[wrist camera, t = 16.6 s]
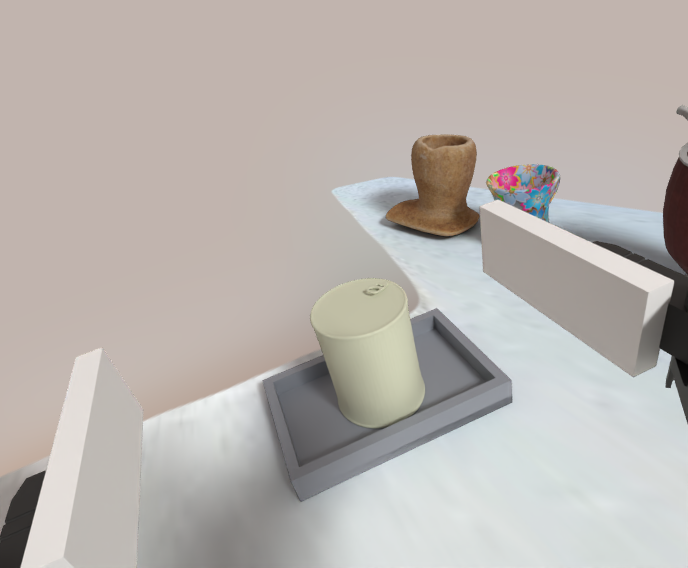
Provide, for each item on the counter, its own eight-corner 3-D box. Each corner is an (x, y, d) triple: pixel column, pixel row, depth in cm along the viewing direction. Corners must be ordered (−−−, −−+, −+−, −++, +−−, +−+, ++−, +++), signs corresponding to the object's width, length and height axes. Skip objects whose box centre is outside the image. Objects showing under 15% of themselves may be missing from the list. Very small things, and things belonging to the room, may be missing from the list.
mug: (526, 268, 62) (524, 196, 56) (477, 247, 69) (472, 182, 64) (584, 233, 66) (589, 163, 60) (532, 217, 73) (532, 154, 68)
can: (442, 381, 47) (427, 285, 40) (388, 444, 42) (361, 347, 35) (375, 352, 53) (352, 266, 47) (320, 405, 48) (287, 315, 42)
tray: (300, 501, 40) (291, 481, 38) (270, 399, 52) (262, 380, 50) (512, 402, 44) (511, 380, 42) (439, 327, 55) (436, 308, 54)
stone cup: (496, 217, 76) (492, 128, 68) (449, 248, 71) (438, 155, 63) (430, 202, 87) (420, 124, 80) (385, 228, 82) (369, 147, 75)
